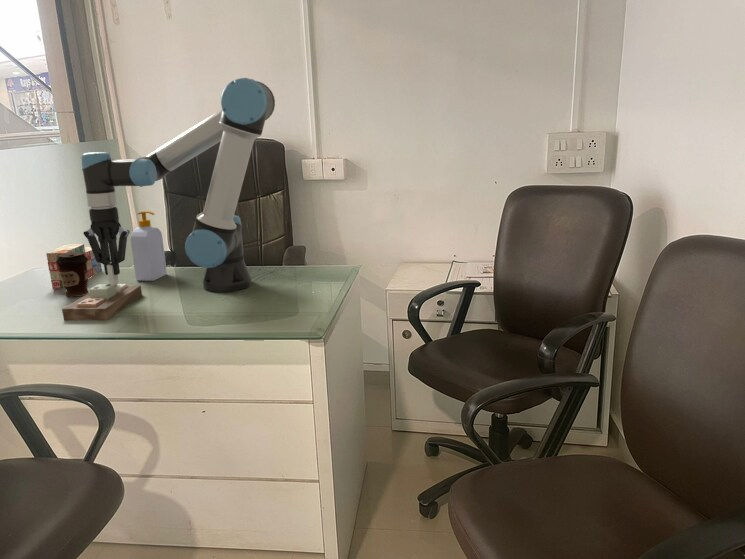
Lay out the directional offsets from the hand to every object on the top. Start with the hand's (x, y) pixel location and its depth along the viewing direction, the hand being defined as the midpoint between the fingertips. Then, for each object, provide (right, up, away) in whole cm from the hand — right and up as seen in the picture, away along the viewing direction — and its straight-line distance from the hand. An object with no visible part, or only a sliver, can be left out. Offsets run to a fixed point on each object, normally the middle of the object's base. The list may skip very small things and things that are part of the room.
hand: (114, 284), depth 168 cm
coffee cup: (-15, -3, +7) cm, 16 cm away
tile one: (0, -3, +1) cm, 3 cm away
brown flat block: (0, -6, -5) cm, 8 cm away
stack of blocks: (-23, +1, +23) cm, 33 cm away
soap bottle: (+2, +2, +24) cm, 24 cm away
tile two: (0, -3, -6) cm, 7 cm away
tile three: (0, -7, -13) cm, 14 cm away
